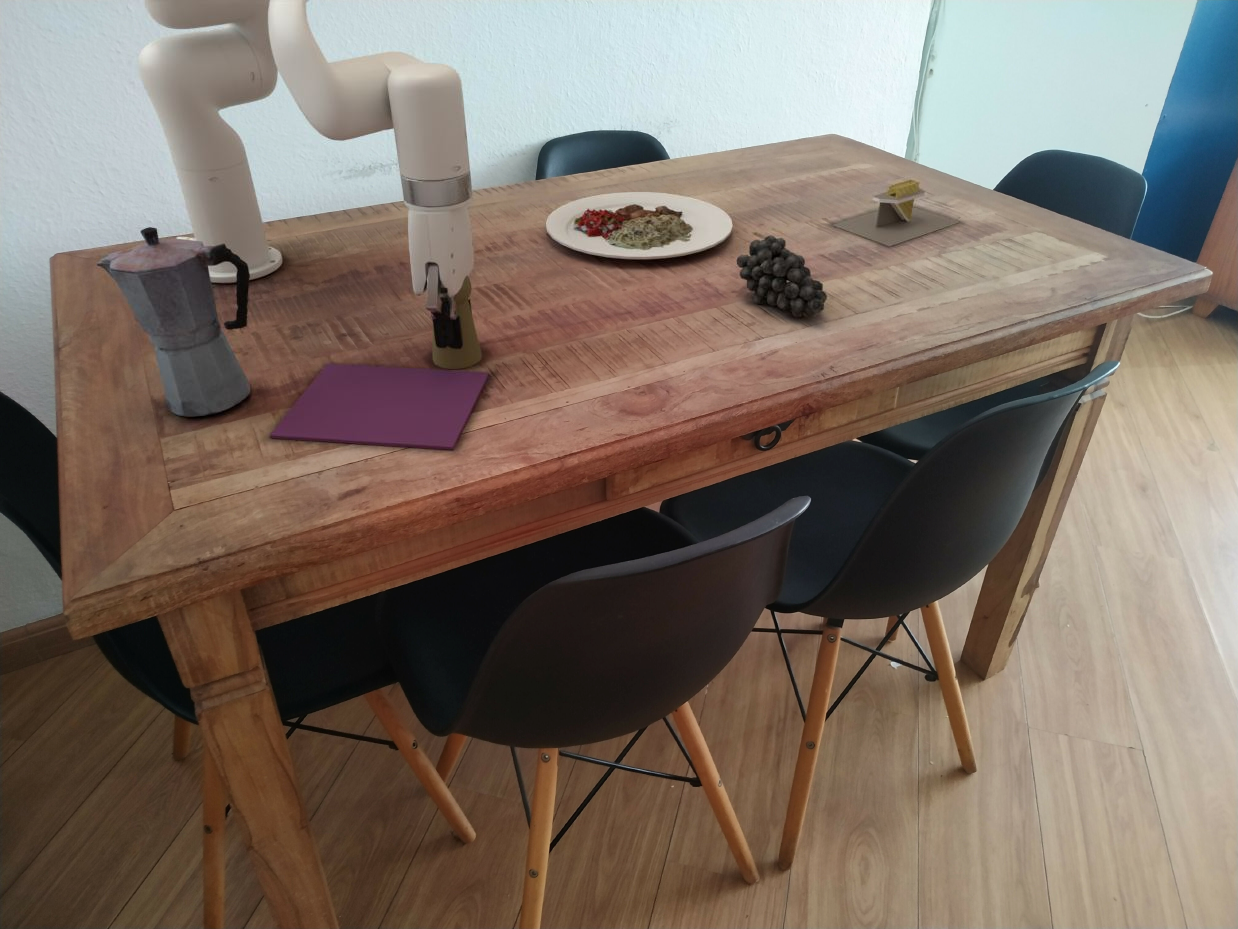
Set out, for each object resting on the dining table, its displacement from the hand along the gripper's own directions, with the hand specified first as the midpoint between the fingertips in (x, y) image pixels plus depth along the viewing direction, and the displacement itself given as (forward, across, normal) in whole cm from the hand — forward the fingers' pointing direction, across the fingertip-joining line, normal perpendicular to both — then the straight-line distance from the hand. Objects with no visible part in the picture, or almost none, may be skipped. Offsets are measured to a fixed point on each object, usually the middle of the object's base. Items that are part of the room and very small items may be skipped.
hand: (454, 336), depth 108 cm
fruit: (+3, -19, +40) cm, 44 cm away
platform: (+3, -54, +60) cm, 81 cm away
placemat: (+3, +12, -5) cm, 13 cm away
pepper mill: (+3, 0, 0) cm, 3 cm away
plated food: (+3, -45, +18) cm, 49 cm away
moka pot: (+3, +13, -25) cm, 28 cm away
